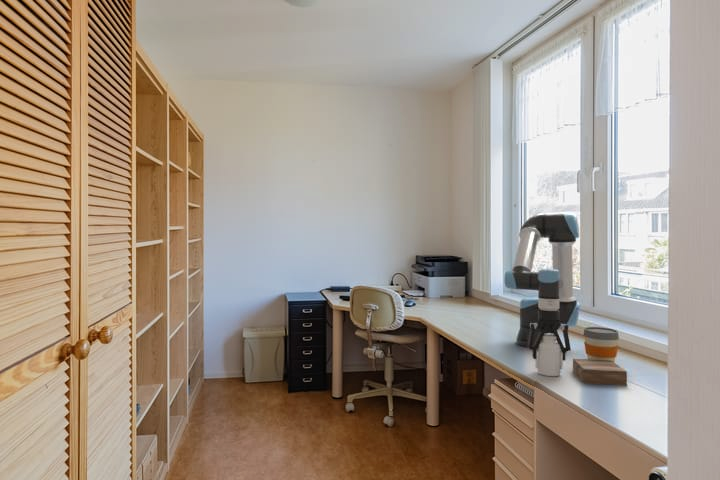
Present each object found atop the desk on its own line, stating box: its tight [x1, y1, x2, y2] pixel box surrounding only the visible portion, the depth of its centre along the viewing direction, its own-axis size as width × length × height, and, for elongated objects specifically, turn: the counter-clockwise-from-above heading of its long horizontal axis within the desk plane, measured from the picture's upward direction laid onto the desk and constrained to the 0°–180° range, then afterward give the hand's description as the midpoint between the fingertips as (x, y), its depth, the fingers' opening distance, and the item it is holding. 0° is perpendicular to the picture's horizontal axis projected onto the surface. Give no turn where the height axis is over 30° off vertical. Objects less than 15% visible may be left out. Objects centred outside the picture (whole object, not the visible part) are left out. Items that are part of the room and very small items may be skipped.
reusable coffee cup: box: [583, 326, 620, 363], centre depth 175 cm, size 13×13×15 cm
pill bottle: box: [537, 333, 561, 377], centre depth 165 cm, size 8×8×15 cm
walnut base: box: [572, 358, 628, 386], centre depth 160 cm, size 14×14×5 cm
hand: (548, 367), depth 165 cm, fingers closed on pill bottle, 8 cm apart
